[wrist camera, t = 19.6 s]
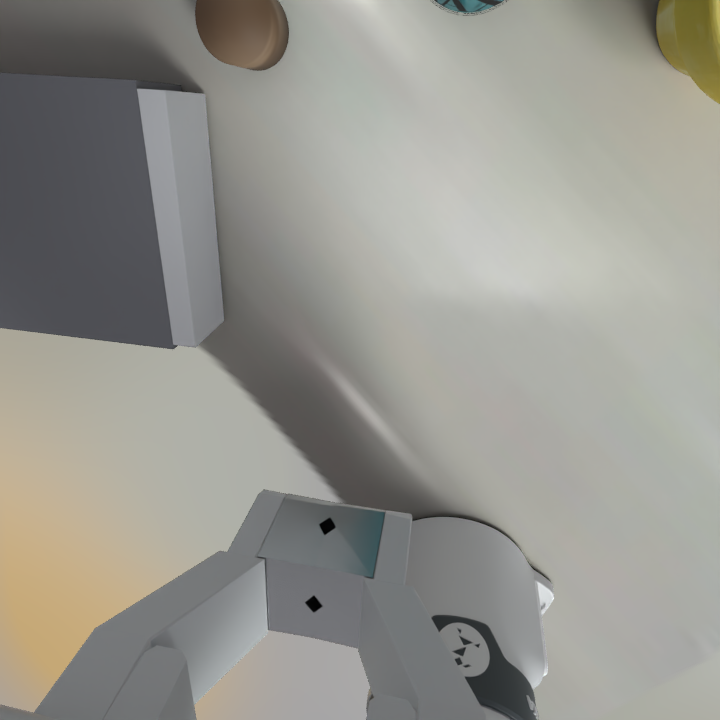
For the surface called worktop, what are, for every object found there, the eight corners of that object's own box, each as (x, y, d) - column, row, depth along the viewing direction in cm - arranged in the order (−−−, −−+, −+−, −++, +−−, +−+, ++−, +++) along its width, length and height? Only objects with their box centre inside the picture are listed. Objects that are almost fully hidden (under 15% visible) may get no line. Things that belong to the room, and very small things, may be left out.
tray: (205, 93, 30) (165, 90, 25) (224, 320, 37) (195, 347, 32) (-55, 79, 32) (-131, 73, 28) (11, 296, 39) (-43, 318, 35)
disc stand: (289, 72, 29) (270, 66, 26) (225, 68, 29) (199, 63, 26) (288, -12, 27) (267, -28, 24) (220, -13, 27) (191, -30, 24)
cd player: (181, 85, 30) (135, 80, 26) (205, 321, 37) (173, 349, 33) (-73, 71, 32) (-156, 64, 28) (-2, 297, 39) (-59, 320, 35)
